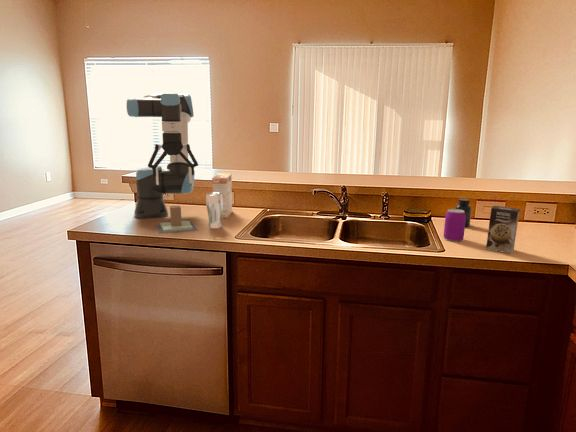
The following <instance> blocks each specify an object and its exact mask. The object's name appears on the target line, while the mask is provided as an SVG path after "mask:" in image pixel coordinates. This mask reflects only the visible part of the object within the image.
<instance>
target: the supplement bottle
mask: <svg viewBox="0 0 576 432" xmlns="http://www.w3.org/2000/svg"><path fill="white" fill-rule="evenodd" d="M470 201H471V200H470V199H468V198H458V201H457V204H456V206H455V208H454V209H460V210H464V212H465V216H466V221H465V228H467V227H468V228H469V227H471V226H470V225H471V218H472V206H471V205H470V204H471V202H470Z"/></svg>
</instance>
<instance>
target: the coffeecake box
mask: <svg viewBox="0 0 576 432" xmlns="http://www.w3.org/2000/svg"><path fill="white" fill-rule="evenodd" d="M211 179H212V192H218V193H222V200H223V207H222V215H221V219H228V218H229V217H230V215H231V214H232V212H233V193H232V190H233V189H232V188H233V186H232V185H233V181H232V179H233V178H232V173H229V172H228V173H227V172H224V173H223V172H219V173H216V175H213V177H212V178H211Z"/></svg>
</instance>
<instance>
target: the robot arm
mask: <svg viewBox="0 0 576 432" xmlns="http://www.w3.org/2000/svg"><path fill="white" fill-rule="evenodd" d="M126 114H127V116H129V117H131V118H132V117H133V118H161V131H162V132H163V133H162V144H157V143H155V144H154V150H153V153H152V154H151V157H150V159H149V162H148V164H147V167H146V166H145V167H142V168H139V169H137V171H136V173H135V175H136V177H135V180H136V181H135V182H136V193H137V195H136V196H137V202H136V206H135V210H134V217H135V218H137V219H142V220H143V219H157V218H164V217H167V216H168V215H169V212H168V208H167V205H166V203H165V200H164V194H165V195H167V194H170V195H173V194H174V195H175V194H178V195H179V194H181V195H182V194H190V193H192V192H193V189H194V186H195V185H194V184H195V174H196V172H195V171H196V170H195V168H196V167H198V166H199V163H198V161H197V159H196V157H195V155H194V154H193V152H192V150H191V147H190V146H191V145H190V144H189V131H188V130H189V125H188V124H189V123H190V121H191V119H192V118H193V117H194V108H193V100H192V96H191V95H190V94H189V93H182V92H181V93H176V92H175V93H174V92H159V93H158V92H157V93H153V94H152V93H151V94H147V95H145V96H143V97H142V98H136V97H133V98H127V100H126ZM161 149H162V150H163V152H162V154H161V155H159V157H158V159H157V160H156V161H155V159H156V157H157V155H158V153H159V151H161ZM167 155H168V156H169V163H168V164H167V166H166V169H164V168H162V166H160V164H161V162H162V161H164V159H165V157H166V156H167ZM189 157H190V159H191V161H192V162H193V163H192V162H191V161H190V159H189ZM153 163H154V164H153Z"/></svg>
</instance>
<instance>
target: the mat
mask: <svg viewBox="0 0 576 432" xmlns="http://www.w3.org/2000/svg"><path fill="white" fill-rule="evenodd" d="M189 223H190V224H191V226H192V227H193V230H181V231H169V232H163V230H162V227H161V225H160V223H156V224H155V228H156V230H157V233H158V234H160V235H161V234H174V233H182V232H183V233H185V232H186V233H187V232H194V231H199V229H198V228H197V226H196V225H195V223H194V222H193V221H189Z"/></svg>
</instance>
